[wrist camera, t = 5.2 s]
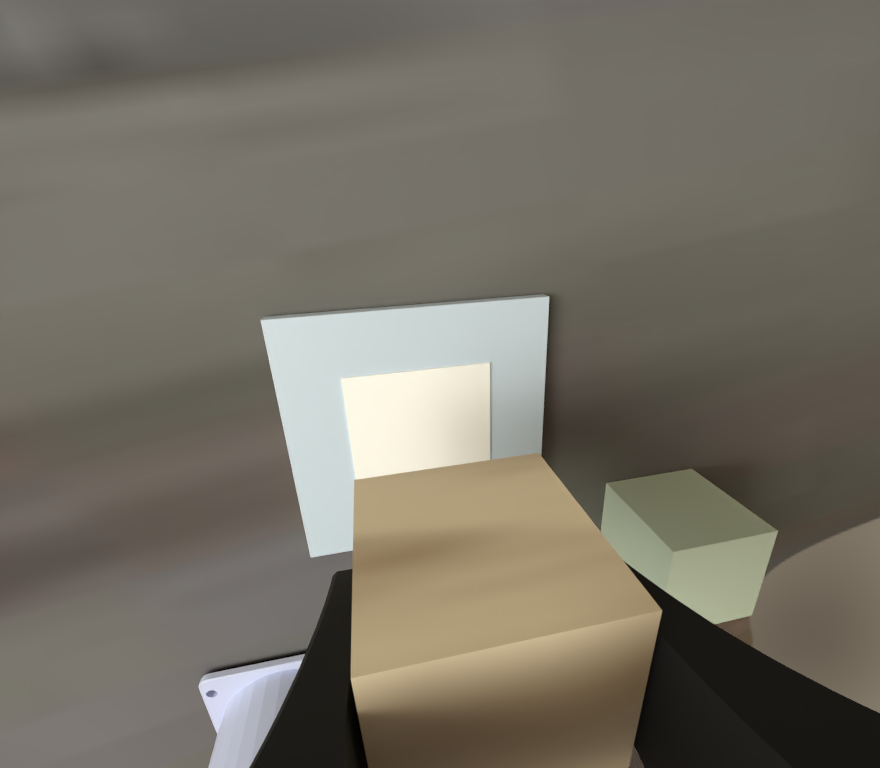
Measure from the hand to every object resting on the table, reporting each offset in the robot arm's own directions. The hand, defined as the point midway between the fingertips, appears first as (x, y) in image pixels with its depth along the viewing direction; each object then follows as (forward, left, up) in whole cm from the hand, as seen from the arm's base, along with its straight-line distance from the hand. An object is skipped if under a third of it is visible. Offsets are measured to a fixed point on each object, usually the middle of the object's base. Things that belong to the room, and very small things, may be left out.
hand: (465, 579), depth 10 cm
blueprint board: (0, 0, -8) cm, 8 cm away
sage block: (-7, -12, -8) cm, 16 cm away
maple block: (0, 0, -2) cm, 2 cm away
